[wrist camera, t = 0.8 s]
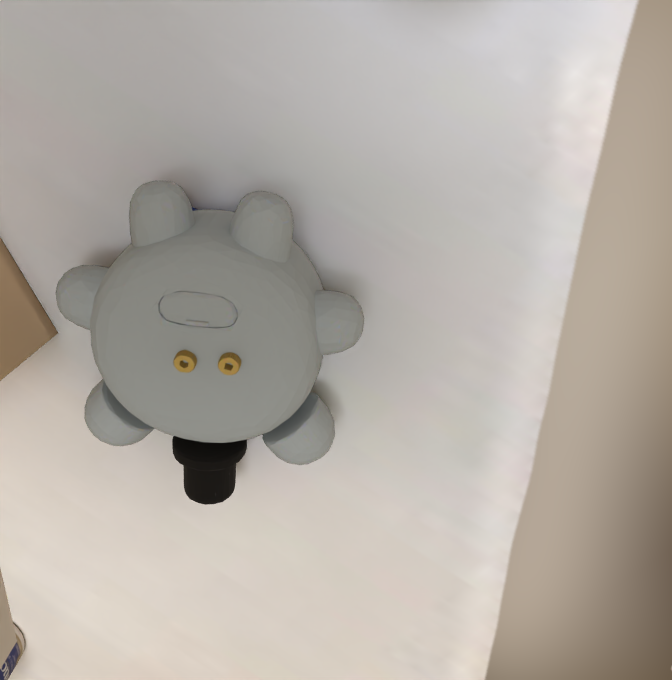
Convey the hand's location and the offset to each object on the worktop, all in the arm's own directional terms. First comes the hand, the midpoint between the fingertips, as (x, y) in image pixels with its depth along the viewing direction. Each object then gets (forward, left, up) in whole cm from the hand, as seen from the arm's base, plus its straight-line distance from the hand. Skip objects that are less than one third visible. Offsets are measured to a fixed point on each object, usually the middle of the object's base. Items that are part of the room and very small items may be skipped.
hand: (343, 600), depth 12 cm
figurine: (+2, -10, -29) cm, 30 cm away
